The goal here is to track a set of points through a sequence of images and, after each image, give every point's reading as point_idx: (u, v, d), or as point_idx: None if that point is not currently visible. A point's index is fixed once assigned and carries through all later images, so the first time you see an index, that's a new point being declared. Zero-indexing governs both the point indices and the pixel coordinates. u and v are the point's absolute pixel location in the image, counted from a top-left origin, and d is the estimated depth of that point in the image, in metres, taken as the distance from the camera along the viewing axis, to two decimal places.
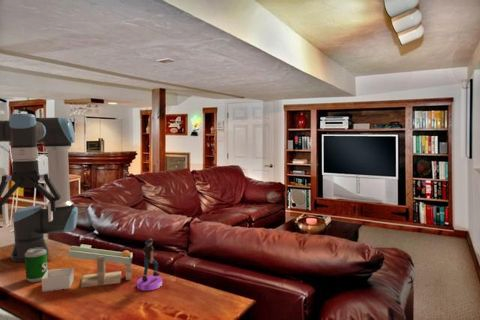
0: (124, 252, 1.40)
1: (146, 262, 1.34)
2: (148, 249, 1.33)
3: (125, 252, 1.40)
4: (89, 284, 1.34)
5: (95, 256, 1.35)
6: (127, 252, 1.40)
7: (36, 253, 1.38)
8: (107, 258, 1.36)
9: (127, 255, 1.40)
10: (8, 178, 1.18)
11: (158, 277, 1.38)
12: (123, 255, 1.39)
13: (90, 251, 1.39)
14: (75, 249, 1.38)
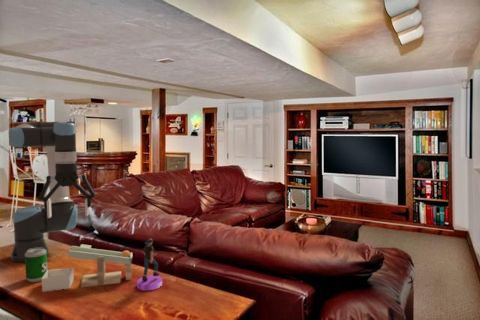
0: (124, 252, 1.40)
1: (146, 262, 1.34)
2: (148, 249, 1.33)
3: (125, 252, 1.40)
4: (89, 284, 1.34)
5: (95, 256, 1.35)
6: (127, 252, 1.40)
7: (36, 253, 1.38)
8: (107, 258, 1.36)
9: (127, 255, 1.40)
10: (52, 178, 1.36)
11: (158, 277, 1.38)
12: (123, 255, 1.39)
13: (90, 251, 1.39)
14: (75, 249, 1.38)
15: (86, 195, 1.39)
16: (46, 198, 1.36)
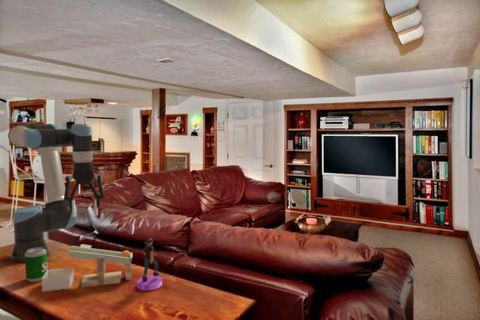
0: (124, 252, 1.40)
1: (146, 262, 1.34)
2: (148, 249, 1.33)
3: (125, 252, 1.40)
4: (89, 284, 1.34)
5: (95, 256, 1.35)
6: (127, 252, 1.40)
7: (36, 253, 1.38)
8: (107, 258, 1.36)
9: (127, 255, 1.40)
10: (70, 177, 1.46)
11: (158, 277, 1.38)
12: (123, 255, 1.39)
13: (90, 251, 1.39)
14: (75, 249, 1.38)
15: (96, 195, 1.48)
16: (71, 198, 1.46)
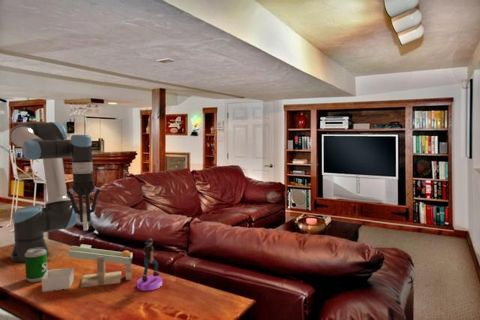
0: (124, 252, 1.40)
1: (146, 262, 1.34)
2: (148, 249, 1.33)
3: (125, 252, 1.40)
4: (89, 284, 1.34)
5: (95, 256, 1.35)
6: (127, 252, 1.40)
7: (36, 253, 1.38)
8: (107, 258, 1.36)
9: (127, 255, 1.40)
10: (71, 191, 1.43)
11: (158, 277, 1.38)
12: (123, 255, 1.39)
13: (90, 251, 1.39)
14: (75, 249, 1.38)
15: (88, 209, 1.45)
16: (81, 211, 1.44)
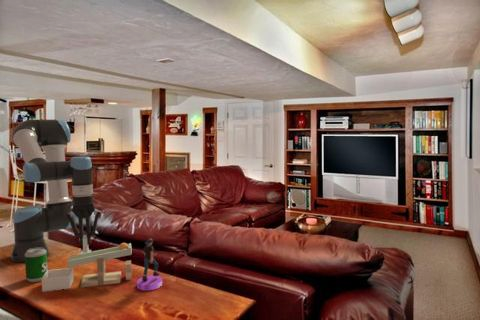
0: (121, 245, 1.39)
1: (146, 262, 1.34)
2: (148, 249, 1.33)
3: (121, 245, 1.39)
4: (89, 284, 1.34)
5: (94, 258, 1.35)
6: (123, 244, 1.40)
7: (36, 253, 1.38)
8: (106, 256, 1.36)
9: (125, 247, 1.39)
10: (71, 214, 1.41)
11: (158, 277, 1.38)
12: (121, 248, 1.39)
13: (89, 254, 1.39)
14: (74, 258, 1.38)
15: (88, 232, 1.43)
16: (81, 234, 1.42)
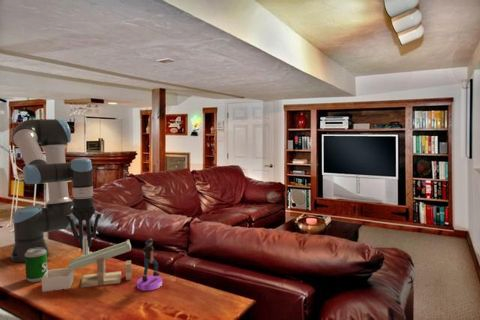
0: None
1: (146, 262, 1.34)
2: (148, 249, 1.33)
3: None
4: (89, 284, 1.34)
5: (94, 259, 1.35)
6: None
7: (36, 253, 1.38)
8: (106, 255, 1.36)
9: None
10: (71, 216, 1.41)
11: (158, 277, 1.38)
12: None
13: (89, 256, 1.39)
14: (74, 261, 1.38)
15: (88, 234, 1.43)
16: (81, 236, 1.42)
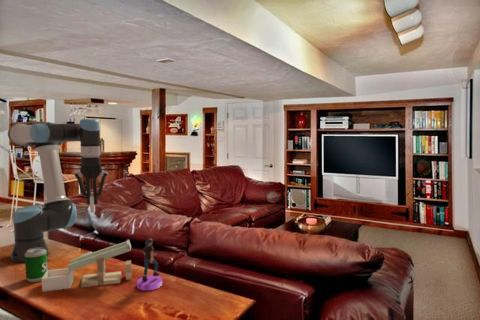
0: None
1: (146, 262, 1.34)
2: (148, 249, 1.33)
3: None
4: (89, 284, 1.34)
5: (94, 259, 1.35)
6: None
7: (36, 253, 1.38)
8: (106, 255, 1.36)
9: None
10: (79, 174, 1.47)
11: (158, 277, 1.38)
12: None
13: (89, 256, 1.39)
14: (74, 261, 1.38)
15: (95, 192, 1.48)
16: (88, 194, 1.48)
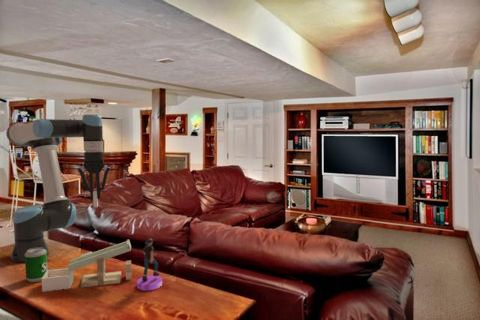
0: None
1: (146, 262, 1.34)
2: (148, 249, 1.33)
3: None
4: (89, 284, 1.34)
5: (94, 259, 1.35)
6: None
7: (36, 253, 1.38)
8: (106, 255, 1.36)
9: None
10: (82, 168, 1.48)
11: (158, 277, 1.38)
12: None
13: (89, 256, 1.39)
14: (74, 261, 1.38)
15: (98, 187, 1.50)
16: (91, 188, 1.49)
